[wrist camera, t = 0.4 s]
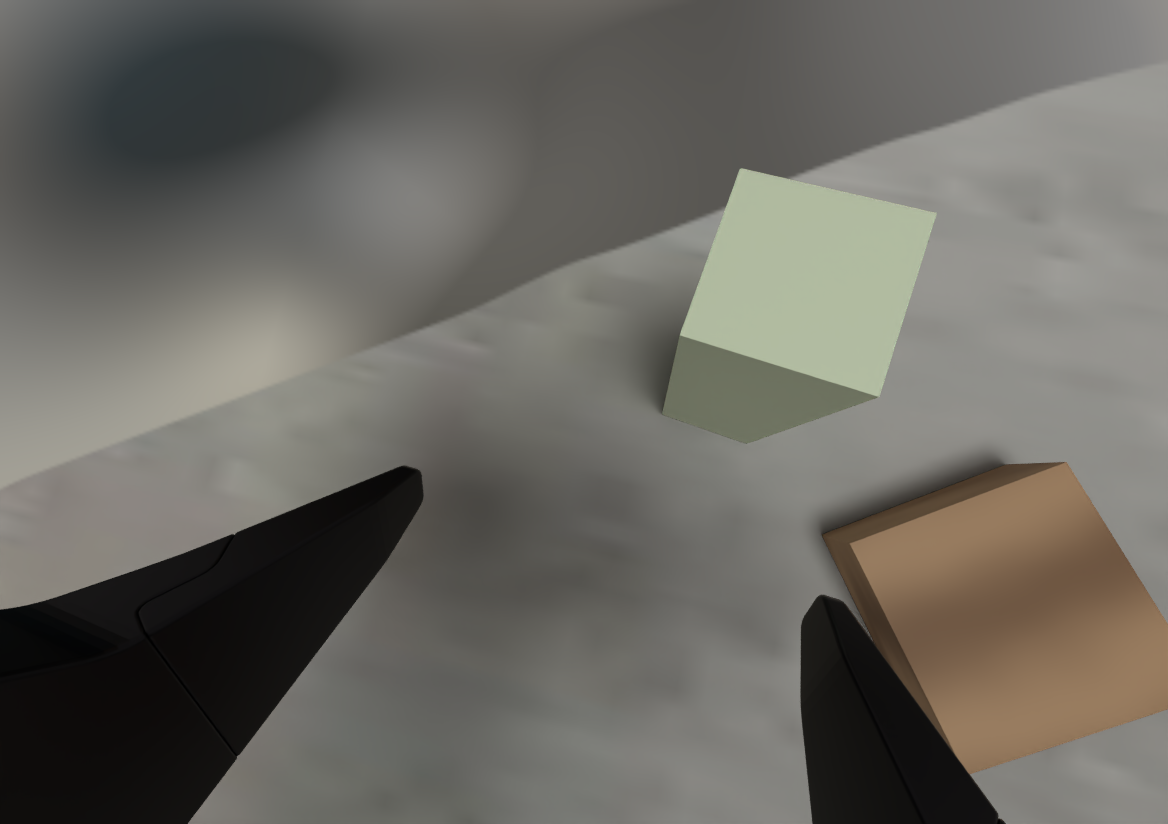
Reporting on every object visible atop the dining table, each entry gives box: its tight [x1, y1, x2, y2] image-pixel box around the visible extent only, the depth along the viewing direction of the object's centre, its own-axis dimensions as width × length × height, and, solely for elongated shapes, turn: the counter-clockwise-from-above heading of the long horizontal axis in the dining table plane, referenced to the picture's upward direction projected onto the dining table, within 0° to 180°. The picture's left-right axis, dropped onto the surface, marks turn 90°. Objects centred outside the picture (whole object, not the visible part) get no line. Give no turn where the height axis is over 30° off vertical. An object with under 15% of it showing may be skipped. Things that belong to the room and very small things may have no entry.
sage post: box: [662, 168, 937, 444], centre depth 16 cm, size 4×4×13 cm
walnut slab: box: [822, 462, 1168, 774], centre depth 18 cm, size 9×9×3 cm
